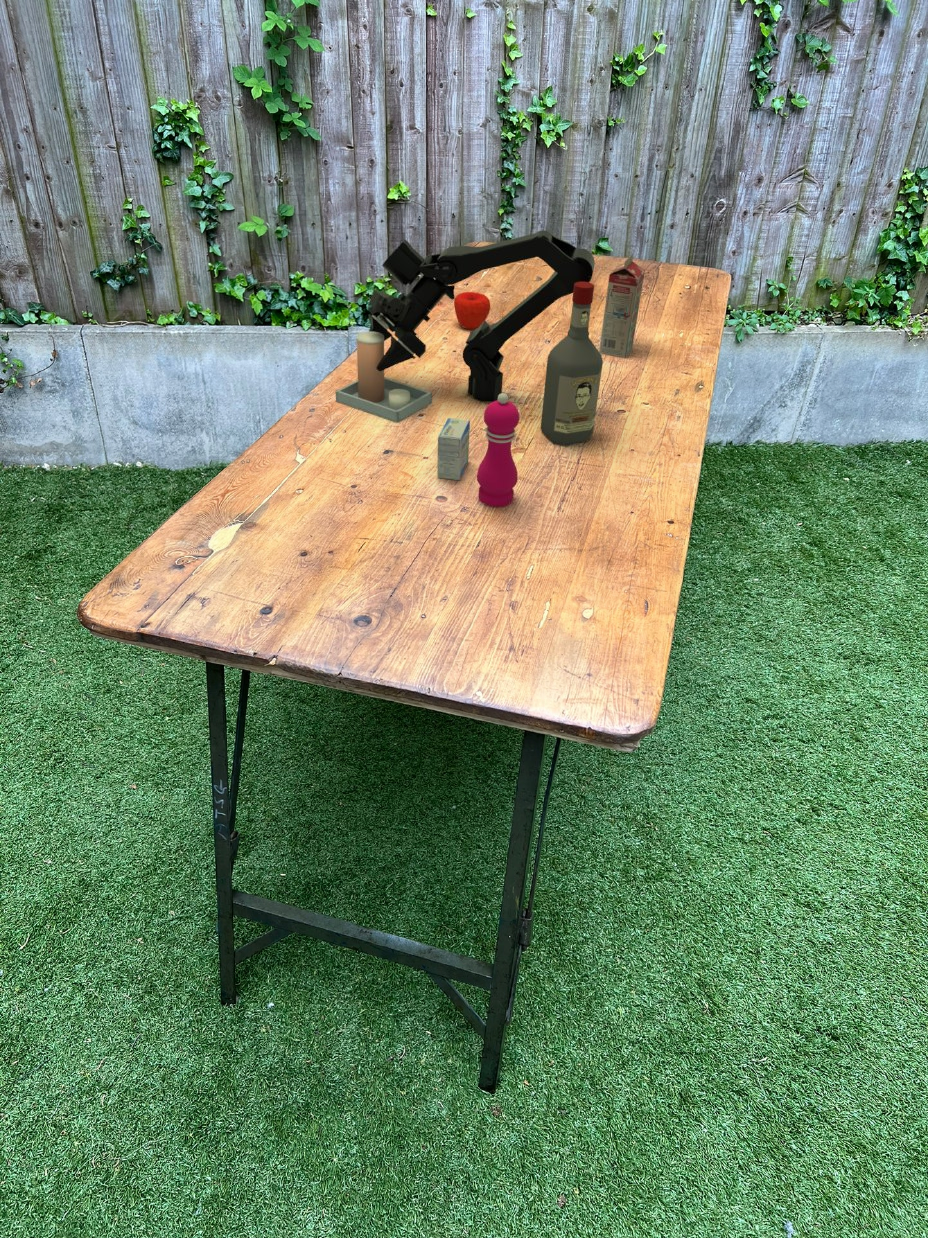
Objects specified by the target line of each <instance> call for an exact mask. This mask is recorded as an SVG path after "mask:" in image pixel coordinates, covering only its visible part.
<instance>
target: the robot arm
mask: <svg viewBox="0 0 928 1238" xmlns="http://www.w3.org/2000/svg"><path fill="white" fill-rule="evenodd" d="M534 258H539V259H541V260H542V262H544V263H546V265H548V266H549V267H550V268H551V269H552V270H553V271H554V272H553V273H552V274H551V276H550V277H549V278H548V279H547V280H546V281H545V282H544V283H542V284H541V285H540V286H539V287H538V288H536V289H535V290H534V291H533V292H532V293H530V294H529V295H528V296H527V297H526V298H524V299H523V300H521V302H520V303H518V304H517V305H516V306H515V307H514V308H512V309H511V310H510V311H509V312H507V314H505V315H504V316H502V318H501V319H499V320H498V321H497V322H494V323H492V324H490V325H488V322H487V321H486V320H485V321H484V322H483V323H482V324H481V325H480V326H479V327H478V328H477V329H473V330H471V331H470V333H469V335H468V337H467V339H466V341H465V346H464V348H463V350H462V359H463V362H464V364H466V366H468V367H469V371H470V374H469V375H468V381H467V394H468V395H469V396H471V397H472V398H473V399H474V400H476V401H479V402H487V403H488V402H490V403H492V402H494V401H497V400H498V396H499V394H501V393H503V383H504V382H503V381H504V378H503V377H504V372H503V371H501V370H500V369H501V367H502V364H503V360H504V358H505V357H504V355H503V353H501V352H500V350H501V349H502V347H503V346H504V345H505V343H506V342H507V341H508V340H510V339H511V338H512V337H513V336H514V335H516V334H517V333H518V332H519V331H520V330H522V329H523V328H524V327H525V326H527V325H528V324H529V323H531V322H532V321H533V320H534V319H536V318H537V316H539V315H540V314H542V312H544V311H545V310H546V309H547V308H549V307H550V306H551V305H552V304H554V303H555V302H557V300H559V299H561V298H565V297H566V296H568V295H571V294H572V295H573V290H574V284H575V283H576V282H589V283H591V280H592V279H593V273H594V269H595V264H596V262H595V257H594V256H593V254H592V252H590V251H589V250H588V249H585V248H581V247H576V246H574V245H573V244H572V243H569V242H568V241H565V240H564V239H561V238H559V237H556V235H553V234H552V233H550V232H549V231H548V230H539V231H537V232H535V233H532V234H527V235H524V236H519V237H514V238H511V239H506V240H504V241H503V240H502V241H499V242H498V241H497V242H495V243H490V244H488V245H482V246H468V245H460V246H459V245H457V246H449V247H447V248H445V249H443V251H442V252H441V253H440V252H439V253H435V254H429V255H426V256H425V257H423V256H422V255H421V254H420V253H419V252H417V250H415V248H413V247H412V245H411V244H410V242H409V241H407V239H403V241H402V242H401V243H400V244H399V246H398V247H396V248H395V249H393V251H392V252H391V254H390V255H389V256H388V257H387V258H386V260H384V262H383V263H382V264H381V266H382V268H383V269H385V270H386V271H387V272H388V273H389V274H390V275H391V276H392V278H394V279H395V280H396V281H398V282H399V284H401V285H402V286H403V285H404V286H407V285H409V286H411V285H412V284H413V283H414V282H415V280H416V279H417V278H418V277H419V275H420V274H422V276H421V277H420V278H419V280H417V282H416V283H415V284H414V286H413V287H412V288H411V289H410V290H409V291H408V292H407V293H406V294H405V293H400V294H399V295H398V296H394V295H392V294H388V293H385V292H383V291H380V290H378V289H374V290H373V292H372V295H371V297H370V299H369V302H368V306H369V308H368V311H369V313H368V318H369V322H370V323H369V325H370V327H369V330H368V331H372V332H378V333H381V334H383V335H384V342H385V341H387V340H389V338H390V346H389V348H388V349H387V350H386V352H384V356H383V358H382V359H381V361H380V362H379V364H378V366H377V367H376V369H377V370H378V371H383V370H384V371H385V370H387V369H389V368H392V367H394V366H396V365H398V364H401V363H404V362H406V361H409V360H411V359H414V360H415V359H416V356H417V358H419V359H421V358H422V356H423V355H424V354H425V353H426V352H427V345H426V344H425V343H424V342H423V341H422V340H421V339H420V338H419V337H418V334H417V332H416V330H417V329H418V327H420V325H421V324H422V323H423V321H425V322H426V323H428V322H429V321H430V320H431V318H430V317H429V314H430V313H431V312H432V311H433V309H434V308H435V307H436V306H437V305H438V303H440V301H441V300H442V299H443V297H444V296H446V297H447V298H448V299H450V300H453V301H454V299H455V298H456V296H455V288H456V285H455V284H458V283H460V282H462V281H464V280H466V279H468V278H471V277H472V276H474V275H475V274H478V273H479V272H482V271H484V270H488V269H493V268H497V267H501V266H506V265H509V264H514V263H517V262H522V261H525V260H530V259H534ZM392 333H394V336H393V334H392ZM396 338H397V339H396Z"/></svg>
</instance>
